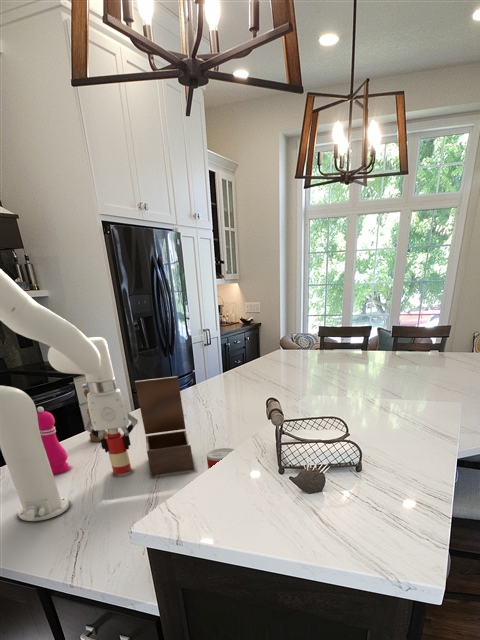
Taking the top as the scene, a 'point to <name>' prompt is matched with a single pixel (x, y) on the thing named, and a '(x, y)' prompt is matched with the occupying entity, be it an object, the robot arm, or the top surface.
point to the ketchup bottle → (117, 452)
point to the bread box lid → (160, 405)
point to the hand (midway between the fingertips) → (117, 448)
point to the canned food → (217, 455)
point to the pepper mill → (51, 442)
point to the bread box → (169, 453)
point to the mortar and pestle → (92, 437)
